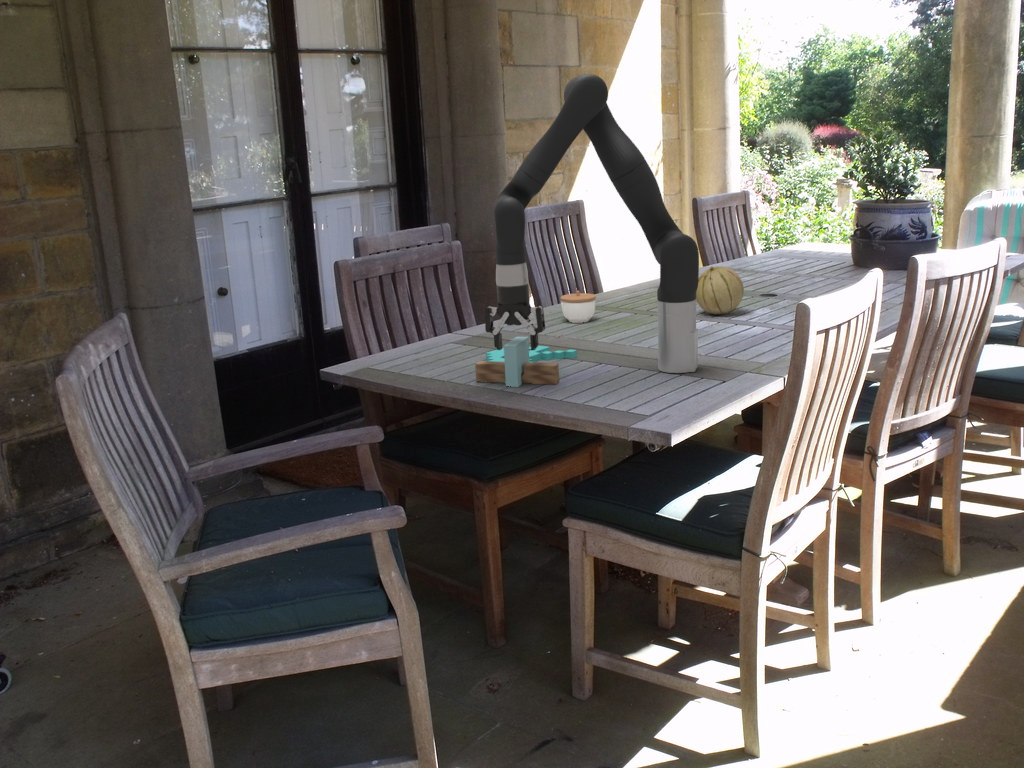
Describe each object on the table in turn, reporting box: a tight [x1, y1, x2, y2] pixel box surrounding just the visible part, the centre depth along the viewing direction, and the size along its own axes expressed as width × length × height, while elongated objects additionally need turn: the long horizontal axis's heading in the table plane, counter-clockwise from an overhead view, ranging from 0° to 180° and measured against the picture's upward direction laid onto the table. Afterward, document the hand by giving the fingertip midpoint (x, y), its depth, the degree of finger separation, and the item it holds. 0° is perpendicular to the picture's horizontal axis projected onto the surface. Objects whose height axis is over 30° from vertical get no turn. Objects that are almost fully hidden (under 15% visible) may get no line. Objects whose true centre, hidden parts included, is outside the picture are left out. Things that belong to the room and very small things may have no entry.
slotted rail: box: [475, 360, 560, 385], centre depth 244 cm, size 20×3×4 cm, turn 72°
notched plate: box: [503, 336, 530, 388], centre depth 243 cm, size 3×10×10 cm, turn 162°
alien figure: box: [485, 345, 578, 362], centre depth 265 cm, size 20×2×20 cm
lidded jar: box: [560, 290, 597, 324], centre depth 311 cm, size 11×11×9 cm
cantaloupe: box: [696, 265, 745, 315], centre depth 310 cm, size 15×15×15 cm
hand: (516, 349), depth 243 cm, fingers open, 8 cm apart
